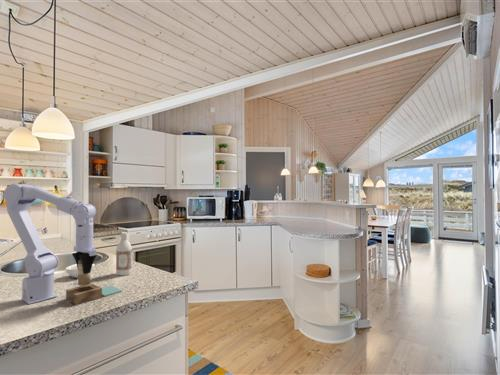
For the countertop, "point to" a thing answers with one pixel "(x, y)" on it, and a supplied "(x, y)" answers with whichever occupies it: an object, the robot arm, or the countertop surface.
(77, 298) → the walnut block
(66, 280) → the countertop surface
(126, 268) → the bath foam
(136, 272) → the countertop surface
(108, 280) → the countertop surface
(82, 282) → the maple plug
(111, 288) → the teal mat
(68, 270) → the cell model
